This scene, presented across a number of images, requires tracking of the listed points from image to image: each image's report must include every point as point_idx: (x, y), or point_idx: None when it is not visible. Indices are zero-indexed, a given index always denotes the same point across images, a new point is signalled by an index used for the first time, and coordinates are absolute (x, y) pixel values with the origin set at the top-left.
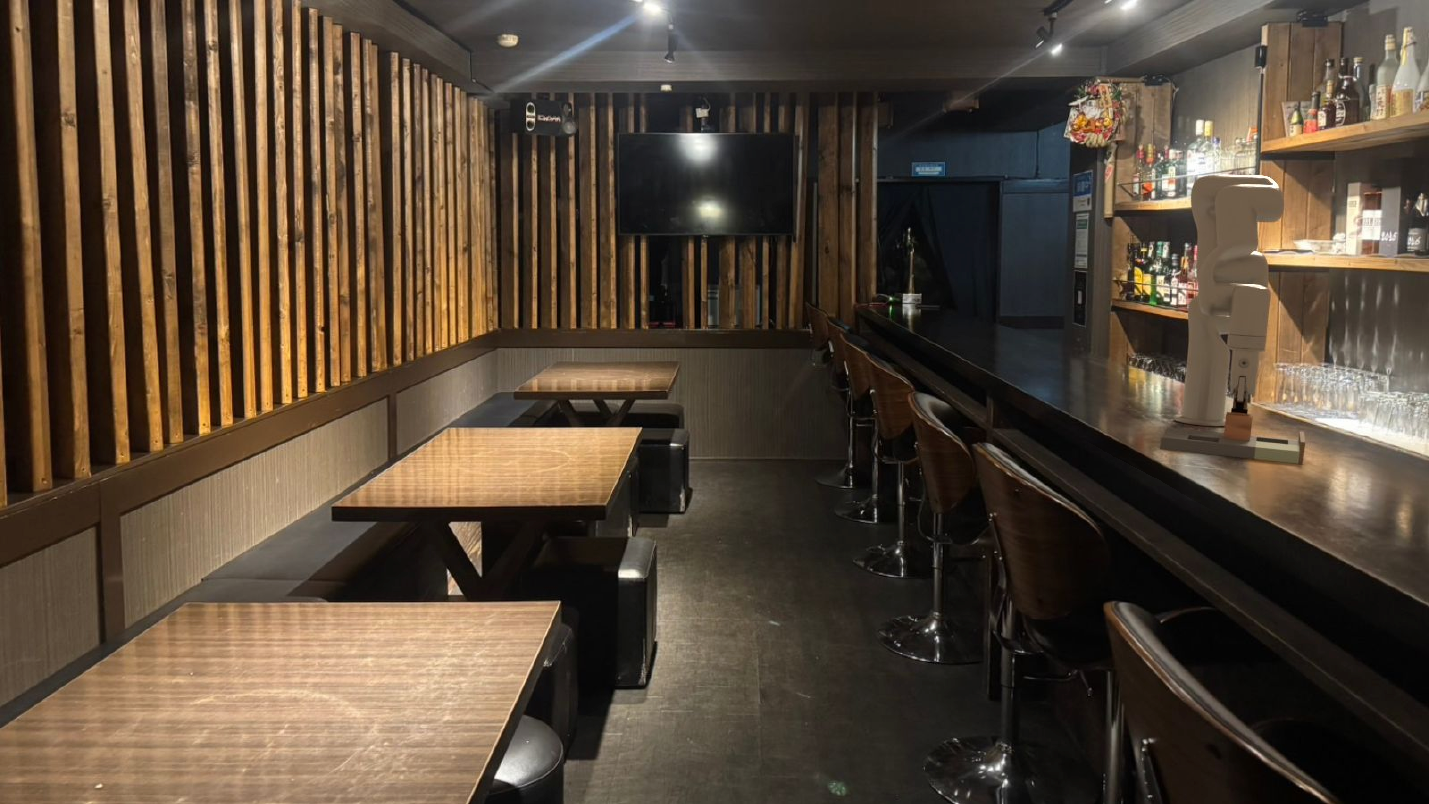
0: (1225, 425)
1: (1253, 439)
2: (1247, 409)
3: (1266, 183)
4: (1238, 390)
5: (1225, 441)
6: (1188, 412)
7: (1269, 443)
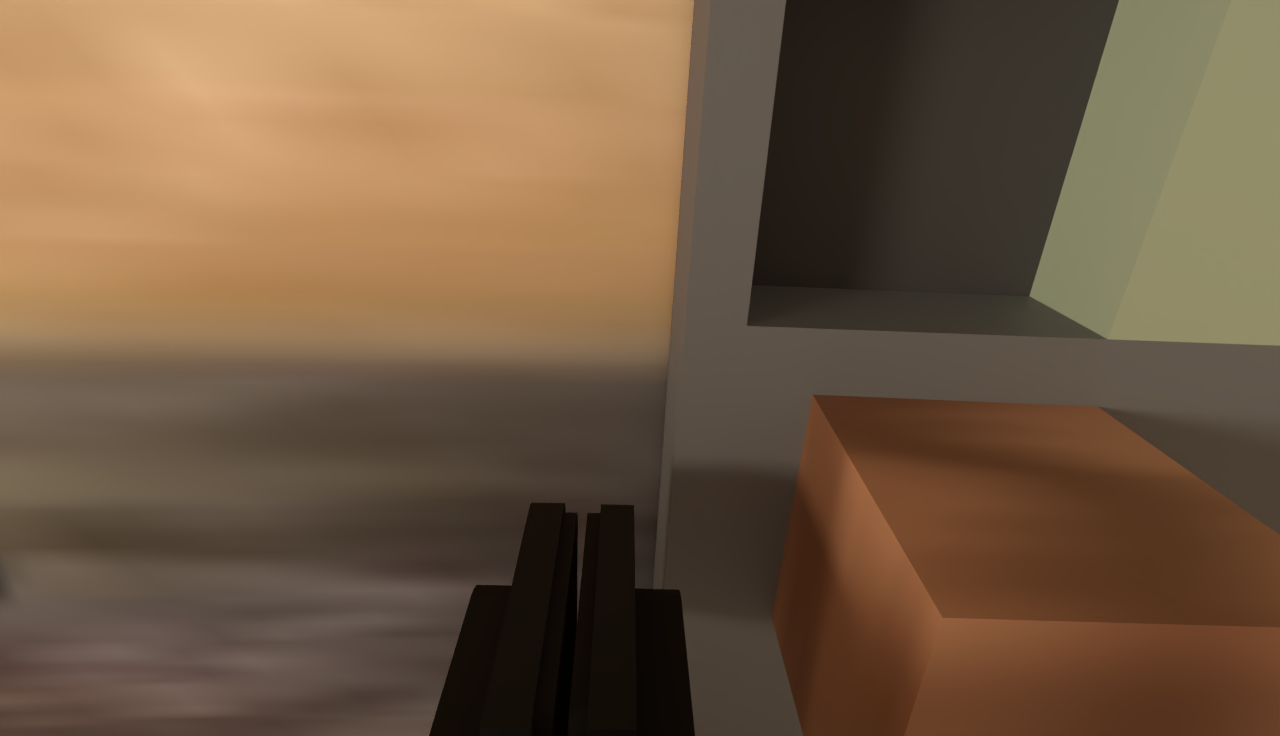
0: None
1: (983, 366)
2: (516, 730)
3: None
4: None
5: None
6: None
7: (1245, 186)
